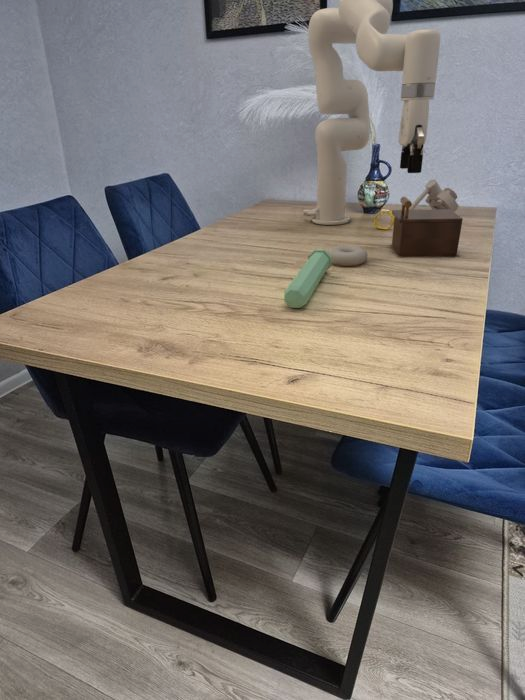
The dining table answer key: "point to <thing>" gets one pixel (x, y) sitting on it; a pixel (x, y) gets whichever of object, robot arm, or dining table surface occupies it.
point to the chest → (426, 238)
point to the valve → (438, 197)
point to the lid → (424, 214)
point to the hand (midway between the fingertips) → (410, 170)
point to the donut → (347, 255)
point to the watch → (384, 212)
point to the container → (307, 279)
